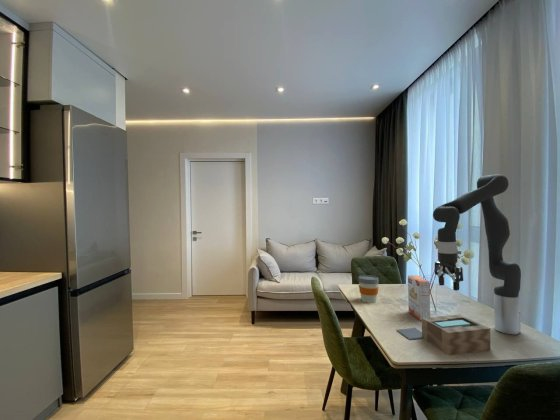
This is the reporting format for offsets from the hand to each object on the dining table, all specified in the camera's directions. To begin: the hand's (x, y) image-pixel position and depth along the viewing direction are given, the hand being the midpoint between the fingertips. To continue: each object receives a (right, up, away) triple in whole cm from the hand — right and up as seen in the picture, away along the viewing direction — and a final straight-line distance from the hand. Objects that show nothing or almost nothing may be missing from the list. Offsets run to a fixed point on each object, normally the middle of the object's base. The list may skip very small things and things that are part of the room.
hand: (448, 287), depth 128 cm
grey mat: (-13, -24, +7) cm, 28 cm away
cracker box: (+1, -24, +30) cm, 39 cm away
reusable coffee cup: (-18, -24, +57) cm, 65 cm away
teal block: (0, -19, -3) cm, 19 cm away
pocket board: (+1, -24, -2) cm, 24 cm away
